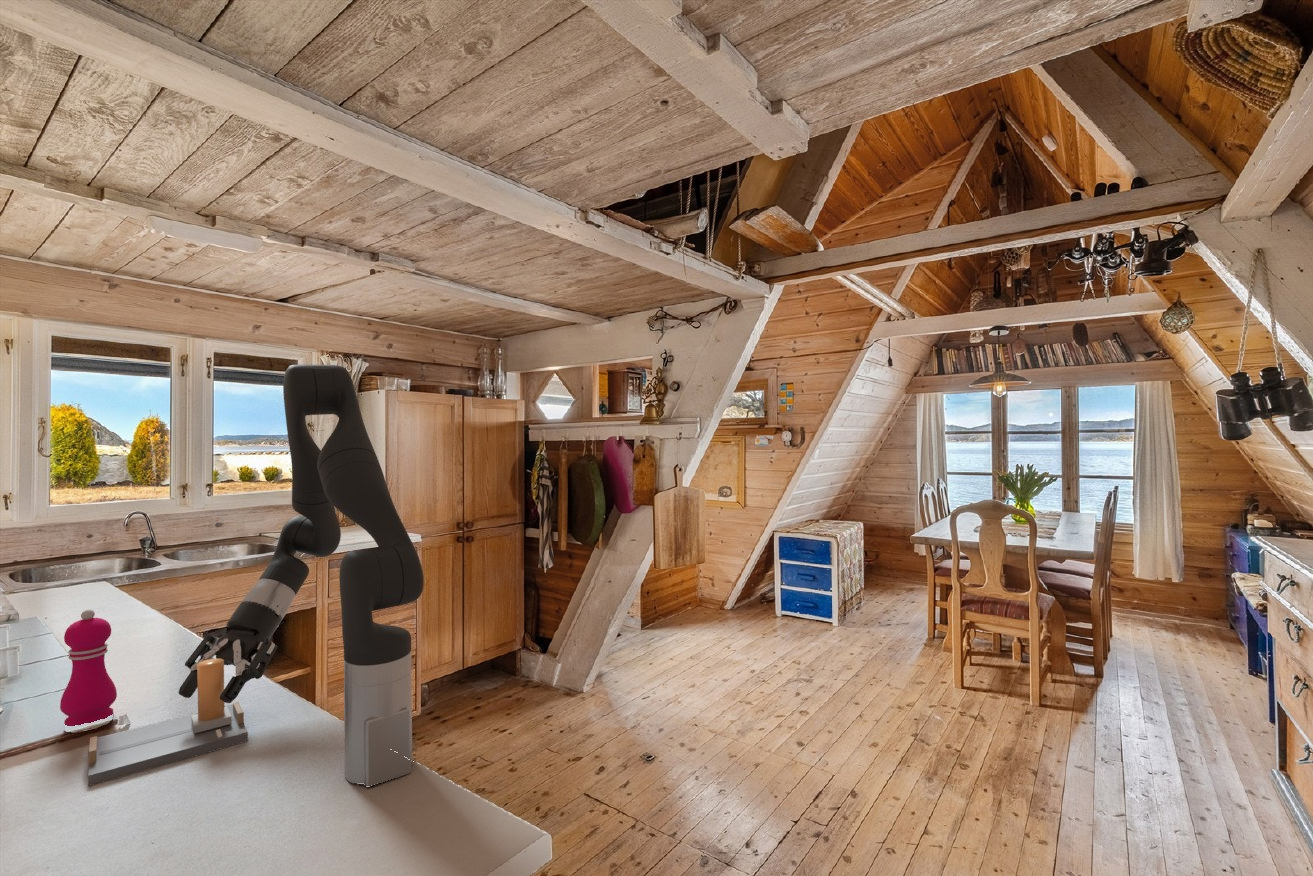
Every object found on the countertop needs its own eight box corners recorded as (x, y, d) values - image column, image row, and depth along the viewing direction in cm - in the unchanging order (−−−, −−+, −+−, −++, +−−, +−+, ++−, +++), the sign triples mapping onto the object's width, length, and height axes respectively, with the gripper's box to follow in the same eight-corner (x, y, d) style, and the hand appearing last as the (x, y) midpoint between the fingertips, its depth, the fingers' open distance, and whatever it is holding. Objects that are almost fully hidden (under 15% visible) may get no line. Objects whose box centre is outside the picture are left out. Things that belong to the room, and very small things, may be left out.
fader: (231, 723, 103) (230, 662, 103) (194, 733, 100) (193, 670, 100) (227, 713, 107) (226, 654, 107) (191, 722, 104) (190, 662, 103)
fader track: (247, 741, 101) (247, 721, 101) (88, 786, 88) (88, 763, 88) (235, 712, 111) (234, 693, 111) (91, 748, 99) (90, 728, 99)
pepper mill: (82, 737, 102) (81, 617, 102) (48, 733, 104) (46, 614, 104) (128, 717, 110) (126, 605, 109) (95, 713, 111) (94, 602, 111)
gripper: (217, 597, 112) (153, 685, 101) (282, 602, 109) (223, 693, 98) (243, 617, 117) (185, 703, 106) (306, 622, 114) (253, 712, 103)
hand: (203, 698), depth 102 cm, fingers open, 8 cm apart
